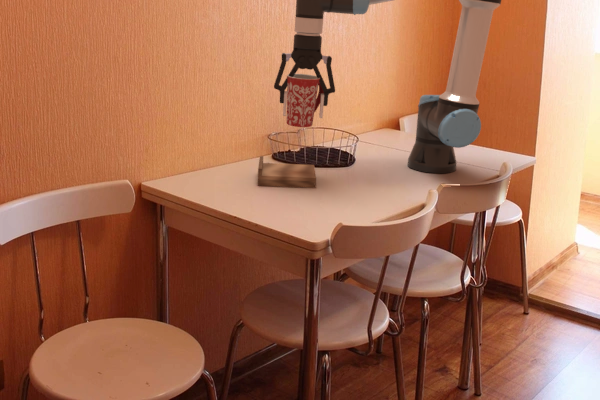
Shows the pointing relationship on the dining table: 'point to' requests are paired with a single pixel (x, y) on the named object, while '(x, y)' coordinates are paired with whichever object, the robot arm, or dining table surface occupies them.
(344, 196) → the dining table surface
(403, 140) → the dining table surface
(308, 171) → the dock
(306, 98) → the mug
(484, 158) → the dining table surface
